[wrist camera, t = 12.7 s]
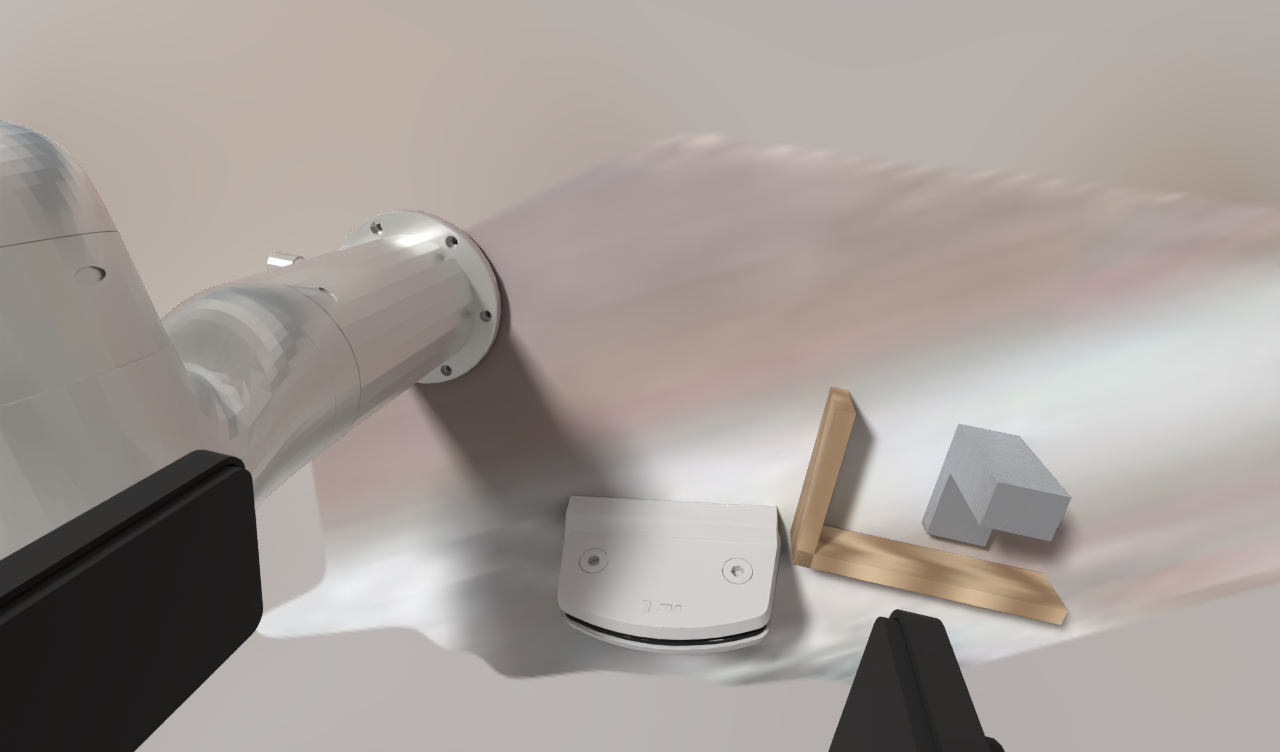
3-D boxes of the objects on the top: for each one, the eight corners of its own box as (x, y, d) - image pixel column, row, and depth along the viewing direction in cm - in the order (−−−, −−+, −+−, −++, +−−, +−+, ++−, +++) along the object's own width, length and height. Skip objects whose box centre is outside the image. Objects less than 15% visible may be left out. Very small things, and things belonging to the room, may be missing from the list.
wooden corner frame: (790, 531, 50) (792, 564, 46) (830, 386, 45) (837, 409, 42) (1037, 587, 48) (1060, 625, 44) (1105, 441, 43) (1137, 470, 40)
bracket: (958, 423, 45) (998, 481, 37) (1019, 436, 44) (1071, 497, 37) (921, 522, 48) (951, 594, 40) (978, 534, 47) (1019, 609, 40)
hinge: (782, 506, 49) (785, 632, 42) (779, 545, 52) (781, 668, 45) (565, 495, 52) (531, 610, 44) (575, 532, 55) (544, 646, 47)
